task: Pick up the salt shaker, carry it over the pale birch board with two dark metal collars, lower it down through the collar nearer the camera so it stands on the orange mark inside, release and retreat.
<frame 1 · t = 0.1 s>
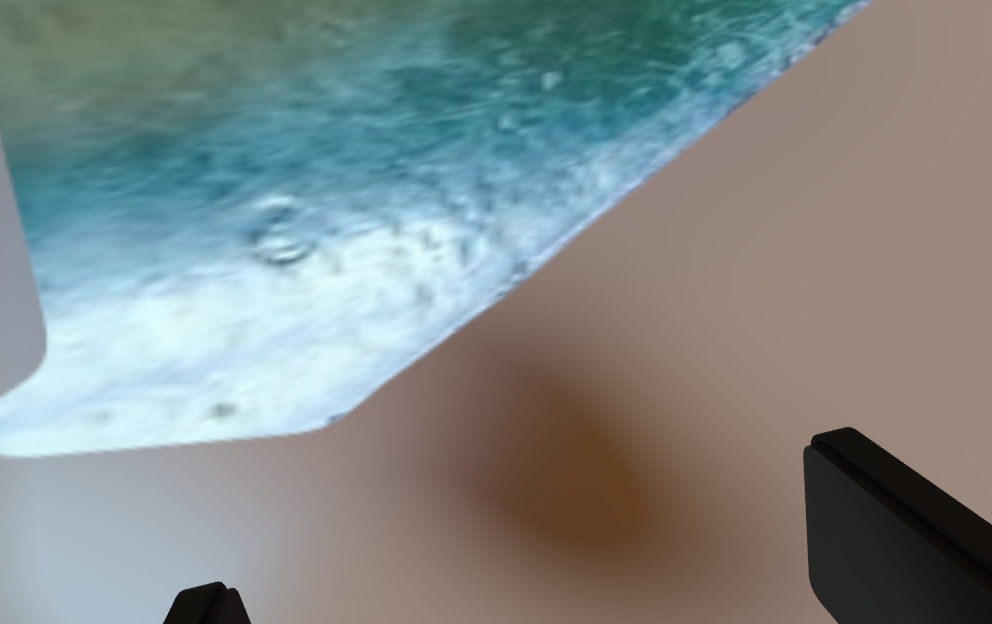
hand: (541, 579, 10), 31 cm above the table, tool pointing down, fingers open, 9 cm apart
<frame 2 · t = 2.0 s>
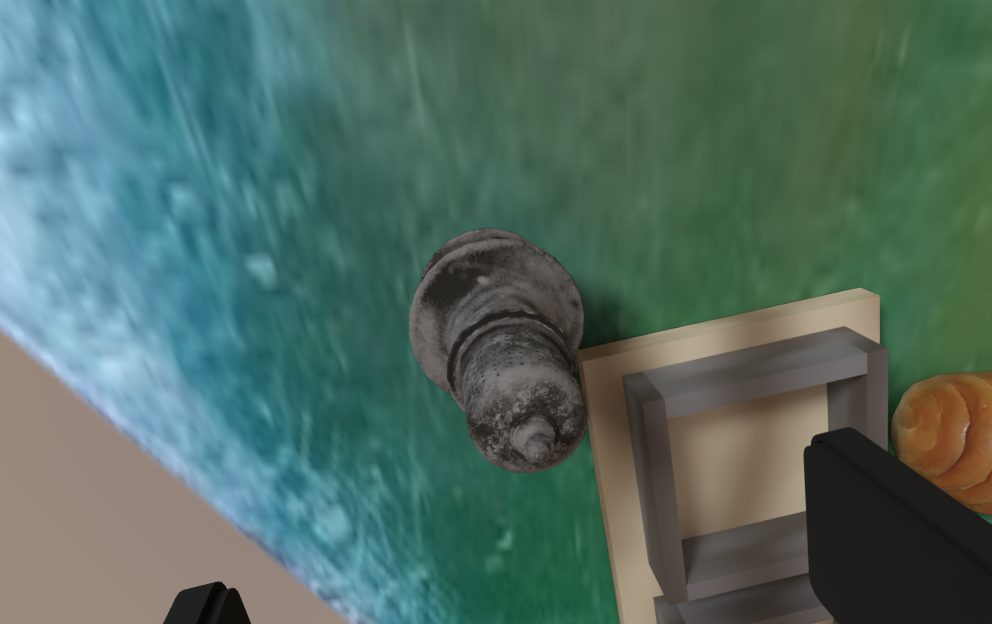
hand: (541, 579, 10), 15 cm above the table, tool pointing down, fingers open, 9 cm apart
salt shaker: (487, 294, 25), on the table
pastry: (976, 430, 29), on the table
collar board: (737, 539, 29), on the table
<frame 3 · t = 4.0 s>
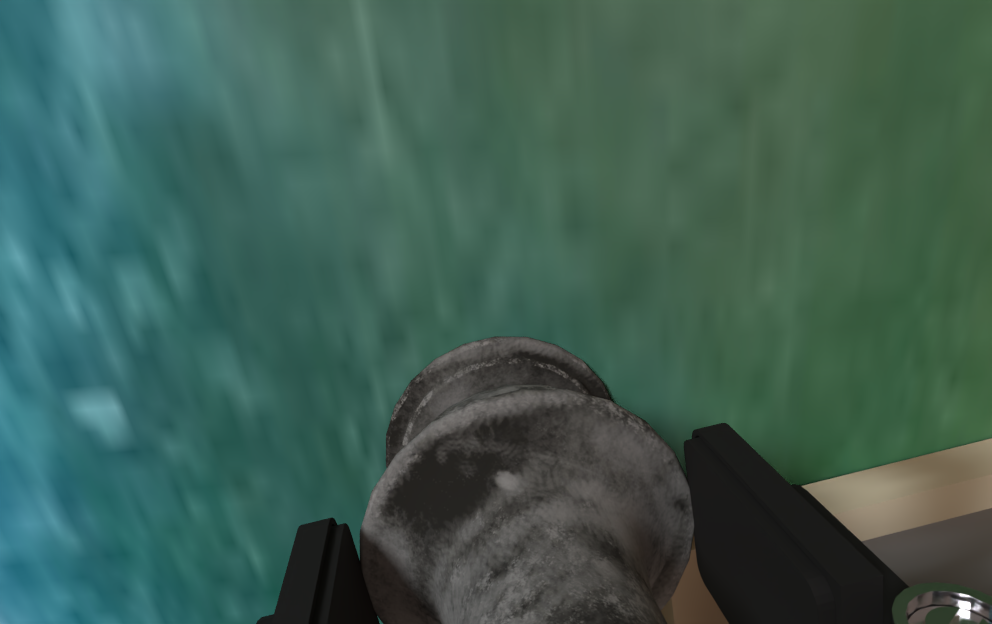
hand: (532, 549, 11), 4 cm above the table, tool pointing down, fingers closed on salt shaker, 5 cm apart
salt shaker: (502, 442, 14), on the table, touching gripper
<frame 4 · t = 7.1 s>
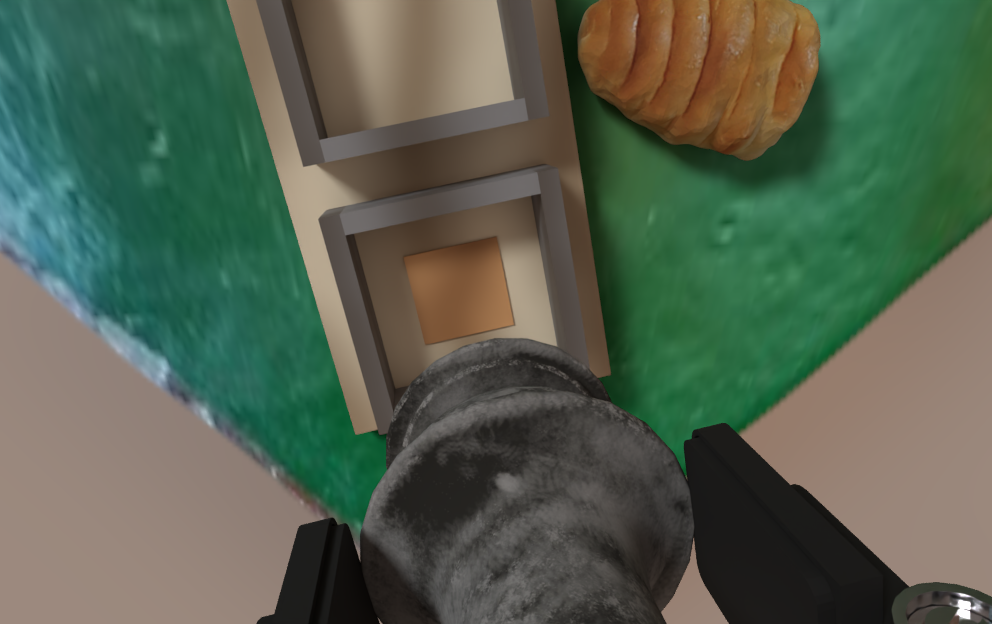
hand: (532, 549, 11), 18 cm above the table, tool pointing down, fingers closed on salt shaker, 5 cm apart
salt shaker: (503, 443, 14), point 15 cm above the table, touching gripper
pastry: (688, 72, 27), on the table
collar board: (430, 161, 27), on the table
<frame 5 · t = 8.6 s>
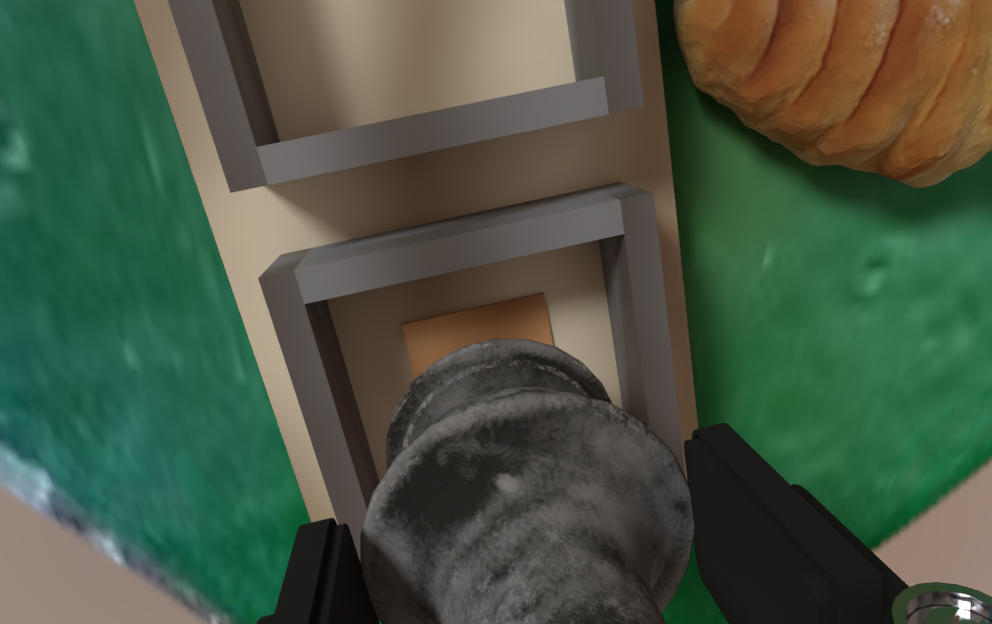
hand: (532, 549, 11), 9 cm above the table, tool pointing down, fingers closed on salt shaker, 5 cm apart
salt shaker: (503, 444, 14), point 5 cm above the table, touching gripper
pastry: (831, 55, 18), on the table
collar board: (443, 177, 17), on the table
when the fingers open (6 cm above the table, at t = 10.1 s): salt shaker stays where it is, resting on collar board.
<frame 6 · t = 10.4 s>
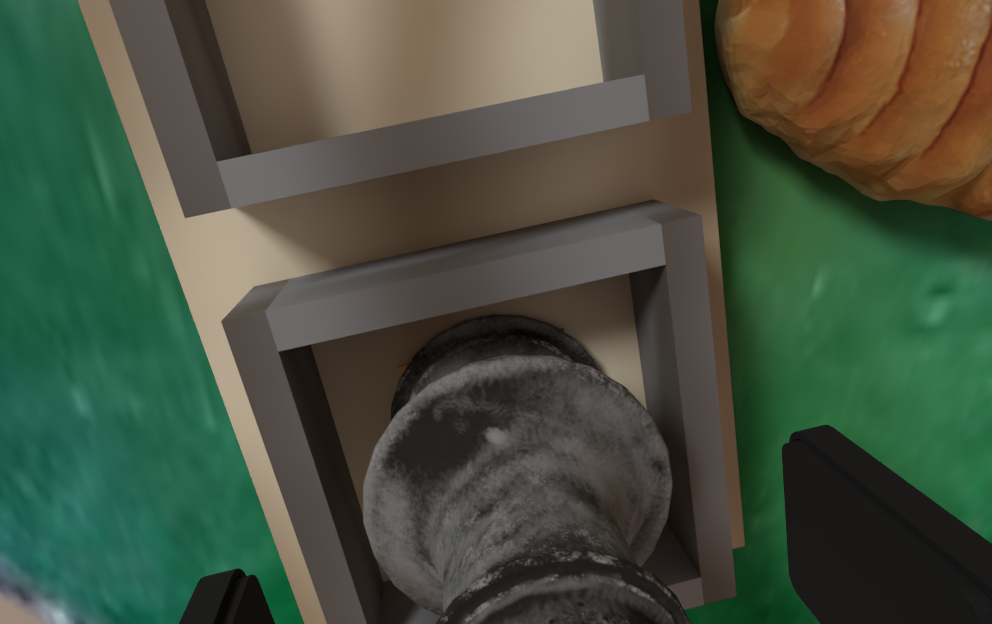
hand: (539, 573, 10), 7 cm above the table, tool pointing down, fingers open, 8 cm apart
salt shaker: (500, 415, 15), point 1 cm above the table, touching collar board
pastry: (892, 72, 16), on the table
collar board: (445, 193, 15), on the table
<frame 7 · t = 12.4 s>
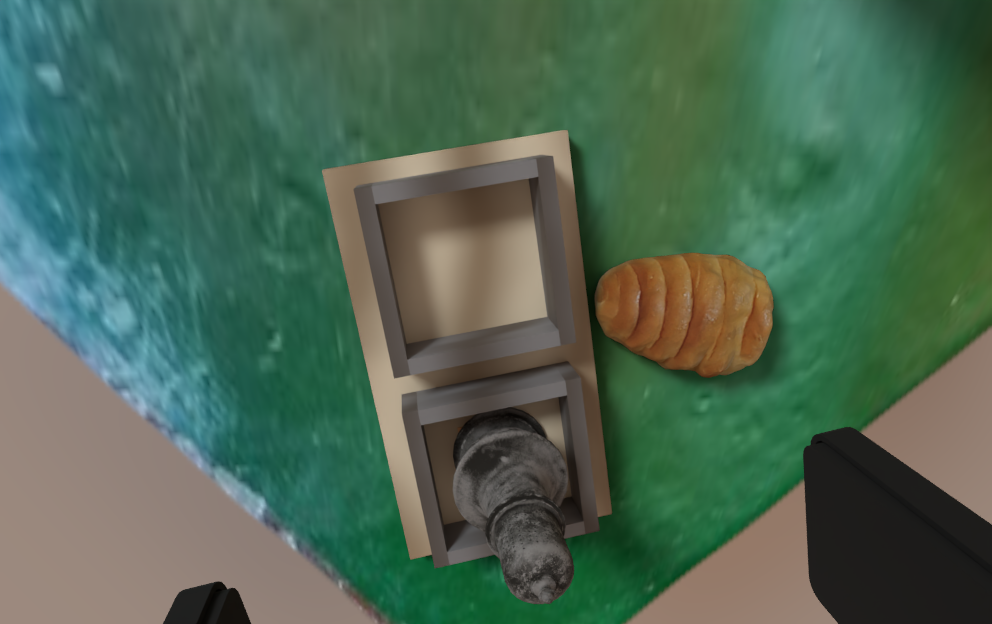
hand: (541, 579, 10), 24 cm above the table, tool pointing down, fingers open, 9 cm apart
salt shaker: (499, 449, 35), point 1 cm above the table, touching collar board
pastry: (677, 308, 36), on the table
collar board: (480, 353, 35), on the table
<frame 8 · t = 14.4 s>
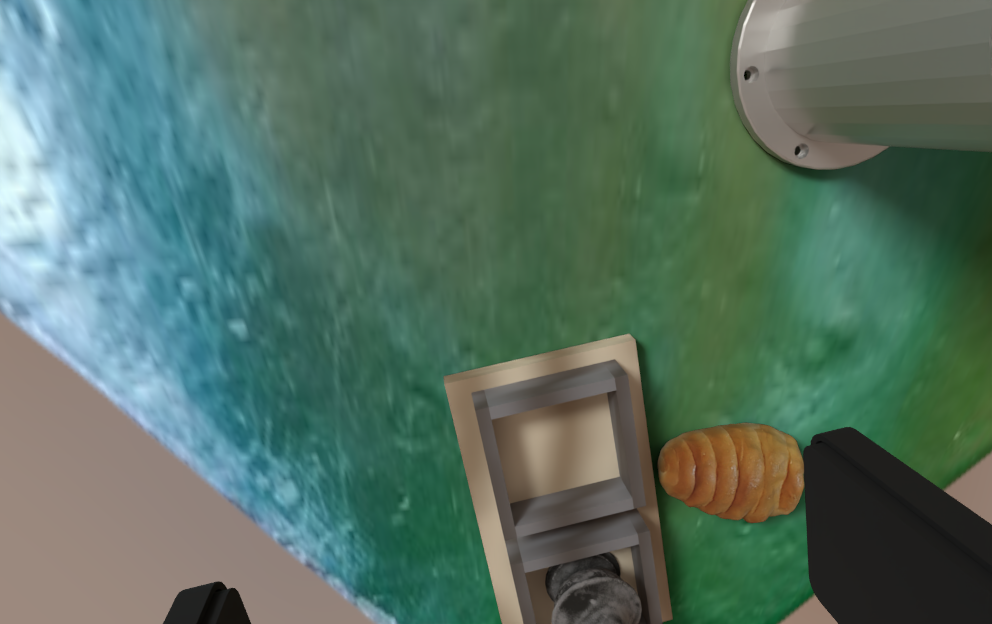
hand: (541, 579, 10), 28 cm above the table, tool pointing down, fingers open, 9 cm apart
salt shaker: (582, 575, 44), point 1 cm above the table, touching collar board
pastry: (724, 462, 44), on the table
collar board: (564, 501, 43), on the table
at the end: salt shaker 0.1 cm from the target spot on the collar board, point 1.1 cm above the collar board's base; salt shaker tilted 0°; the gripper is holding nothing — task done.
